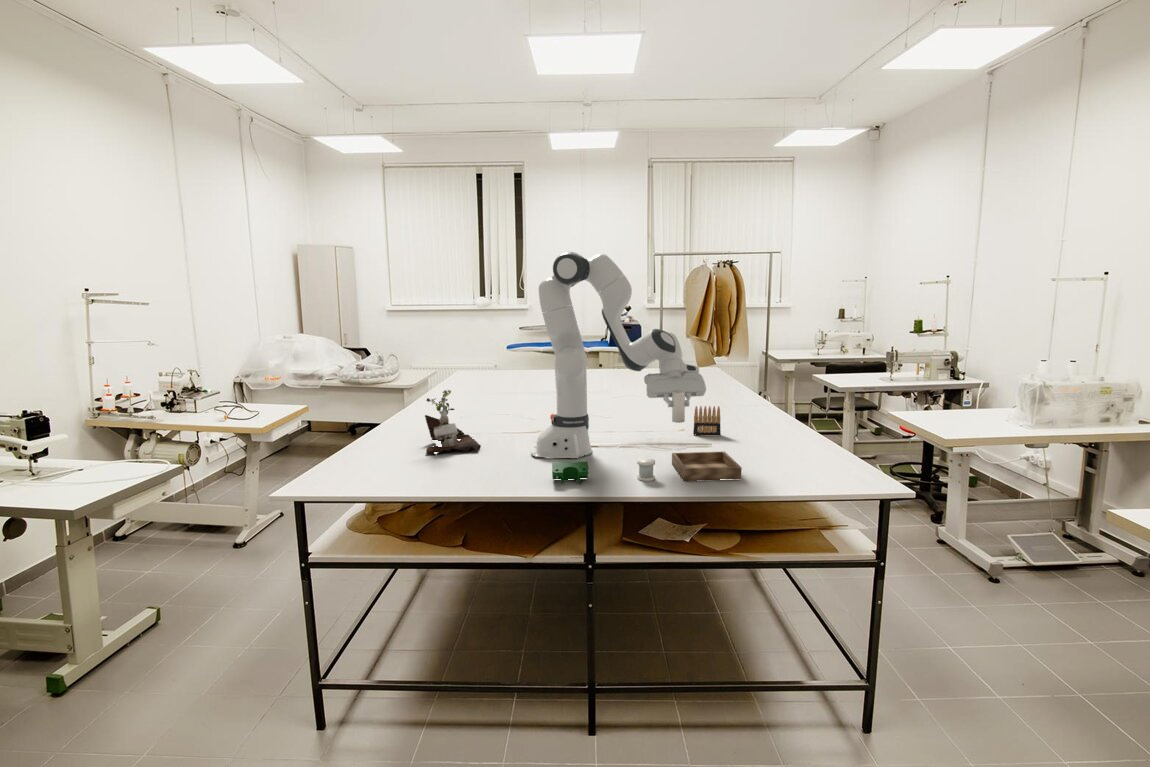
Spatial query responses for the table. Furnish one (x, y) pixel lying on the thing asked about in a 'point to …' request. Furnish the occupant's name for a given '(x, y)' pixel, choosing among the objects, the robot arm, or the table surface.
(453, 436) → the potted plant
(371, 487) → the table surface
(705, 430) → the ammunition clip
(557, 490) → the table surface
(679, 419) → the grey tall block
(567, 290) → the robot arm
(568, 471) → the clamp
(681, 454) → the tray
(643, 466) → the small spool
